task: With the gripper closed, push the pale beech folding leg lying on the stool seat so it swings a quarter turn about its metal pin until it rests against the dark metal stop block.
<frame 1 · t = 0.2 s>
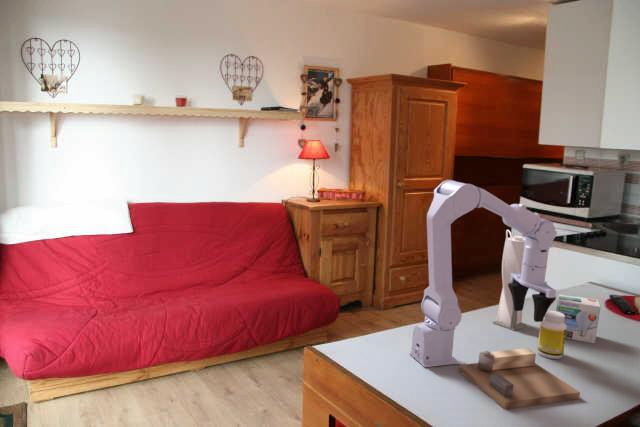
hand: (527, 315, 132), 10 cm above the table, fingers open, 7 cm apart
skyscraper: (508, 323, 153), on the table
stool seat: (516, 384, 116), on the table
pill bottle: (549, 354, 132), on the table
light bulb box: (573, 336, 146), on the table
folding leg: (506, 357, 120), point 4 cm above the table, hinge at 0.0°
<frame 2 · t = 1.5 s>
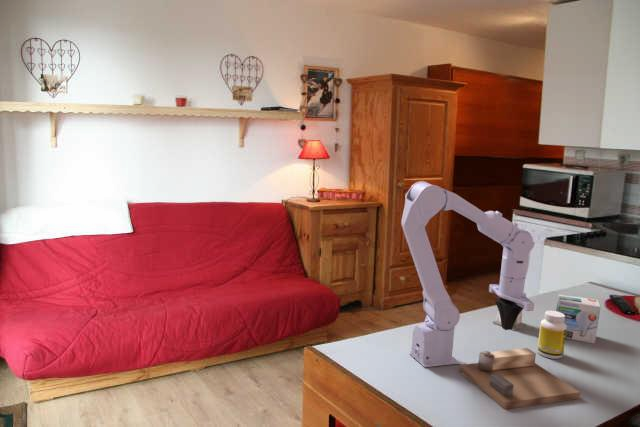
hand: (507, 328, 127), 8 cm above the table, fingers closed
nothing on the table moved.
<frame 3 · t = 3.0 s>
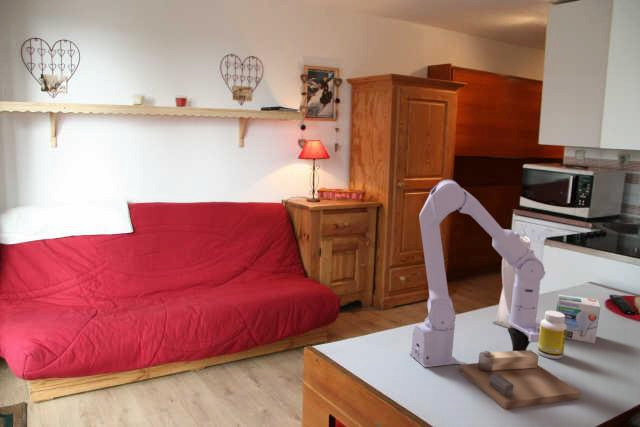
hand: (518, 358, 123), 2 cm above the table, fingers closed, pressing on folding leg
folding leg: (507, 358, 120), point 4 cm above the table, hinge at -5.3°, touching gripper
everything else where it was.
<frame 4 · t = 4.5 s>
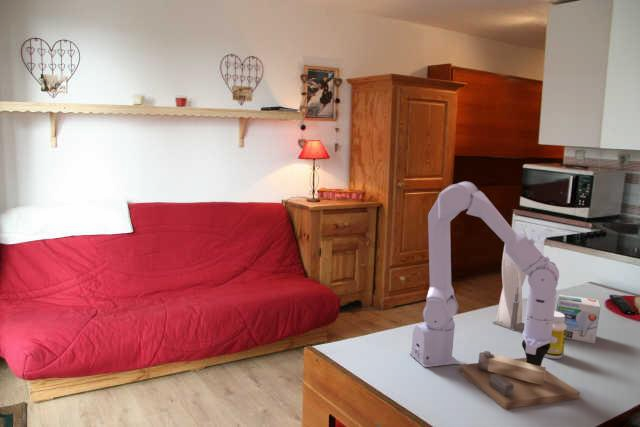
hand: (532, 372, 116), 2 cm above the table, fingers closed, pressing on folding leg
folding leg: (510, 366, 116), point 4 cm above the table, hinge at -47.1°, touching gripper
everything else where it was.
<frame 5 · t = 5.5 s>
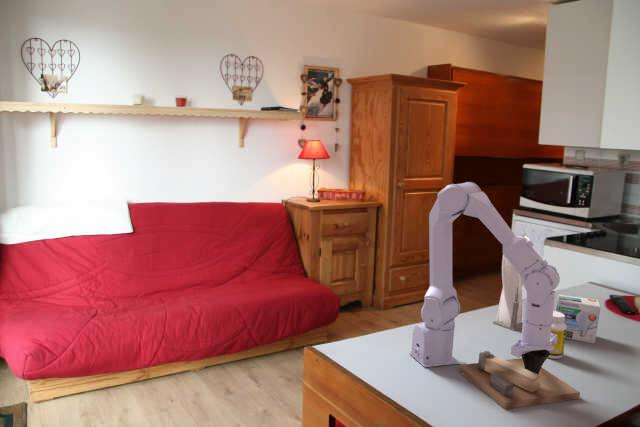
hand: (530, 379, 113), 2 cm above the table, fingers closed
folding leg: (507, 369, 115), point 4 cm above the table, hinge at -69.7°, touching gripper
everything else where it was.
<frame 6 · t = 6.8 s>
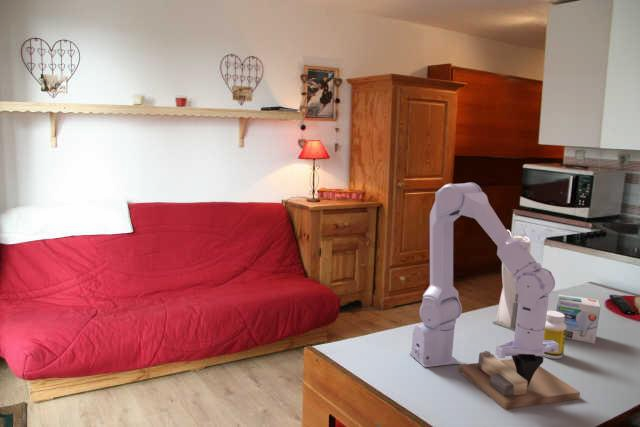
hand: (523, 385, 110), 2 cm above the table, fingers closed
folding leg: (500, 370, 114), point 4 cm above the table, hinge at -91.5°, touching gripper, stool seat
everything else where it was.
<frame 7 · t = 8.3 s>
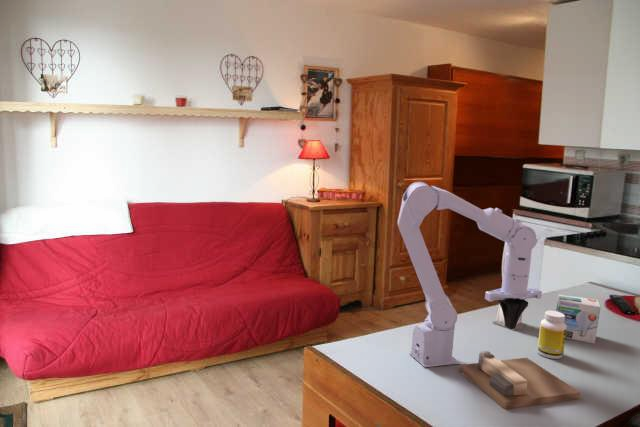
hand: (509, 327, 124), 9 cm above the table, fingers closed
folding leg: (500, 370, 114), point 4 cm above the table, hinge at -91.5°, touching stool seat
everything else where it was.
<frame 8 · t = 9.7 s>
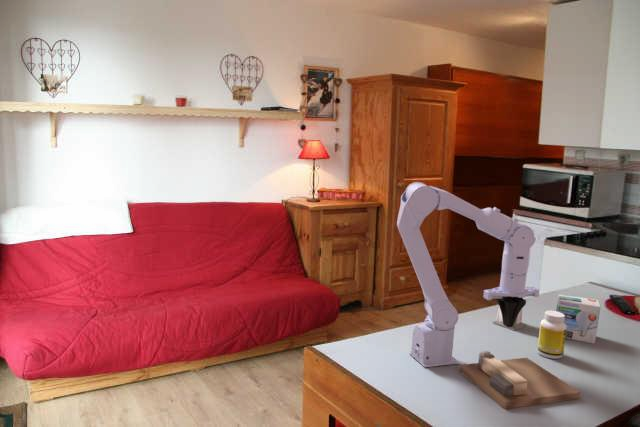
hand: (507, 325, 125), 9 cm above the table, fingers closed
nothing on the table moved.
at the end: folding leg at -92° (first picture: +0°) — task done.
